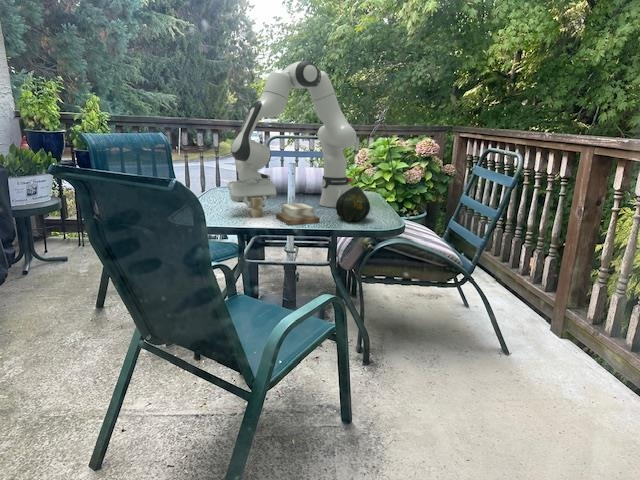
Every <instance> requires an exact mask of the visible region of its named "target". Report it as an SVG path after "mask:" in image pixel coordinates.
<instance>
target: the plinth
mask: <svg viewBox="0 0 640 480" xmlns="http://www.w3.org/2000/svg"><path fill="white" fill-rule="evenodd" d="M314 212H315V211H314V207H313V206H310V205H308V204H306V203H304V202H303V203H287V204H281V212H276V213H275V218H276V220H278V221H280V222H282V223H283V222H284V223H283V224H285V223H286V224H285V225H287V226H294V225H296V226H297V225H308V224H309V225H310V224H319V223H321V222H320V221H321V219H320V217H318V216H316V215H314Z"/></svg>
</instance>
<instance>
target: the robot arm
mask: <svg viewBox="0 0 640 480" xmlns="http://www.w3.org/2000/svg"><path fill="white" fill-rule="evenodd" d="M304 88H306V89H307V91H308V93H309V94H310V98H311V101H312V105H313V107H314V110H315V113H316V115H317V117H318V119H319V120H320V121H321V123H322V124H323V125H322V126H320V127H319V129H318V131H317V139H318V141H319V143H320V146H321V151H322V156H323V157H322V158H323V175H322V180H321V183H322V184H321V187H322V189H321V196H320V200H319V202H318V203H319V204H318V205H320V206H322V207H326V208H335V209H336V203H337V200H338V198H339V197H340V196H341V195H342V194H343V193H345V192H346V191H348V190H349V189H351V188H353V187H354V186H351V184H350V183H353V181H354V179H353V178H352V177H348V176H347V163H348V162H347V158H346V157H345V154H344V150H343V149H348V148H350V147H352V146H353V145H354V144H355V143H356V140H357V132H356V130H355V129H354V128H353V127H352V126H351V125H350V123H349V121H348V120H347V118H346V117H345V115H344V113H343V111H342V110H341V109H342V108H341V107H340V104H339V101H338V98H337V95H336V93H335V89H334V86H333V83H332V82H331V79H330V77H329V76H328V73H327V72H326V71H323V70H320V69H319V67H318V66H317V65H316V63H314V62H313V61H309V60H301V61H296V62H293V63H291V64H287V65H286V66H284V67H283V69H274V70H272V71H271V72H270V73H269V76H268V77H267V80H266V82H265V84H264V87H263V90H262V93H261V95H260V97H259V99H258V100H256V101H254V102H253V103H252V104H251V105H250V107H249V109H248V111H247V113H246V115H245V116H244V119H243V122H242V124H241V126H240V128H239V131H238V132H237V134H236V136H235V137H234V139H233V141H232V142H231V145H230V153H231V155H232V157H233V159H234V165H235V168H236V171H237V173H238V175H237V176H238V180H230V181H229V182H227V184H226V186H227V189H228V190H229V199H230V200H231V201H232V202H234V201H238V202H240V201H239V200H243V201H242V202H243V203H244V204H245V205H246V207H247V209H251V207H252V205H251V202H250V201H247V200H250V198H252V197H260V198H262V208H265V207H266V206H267V205H266V200H270V199H275V198H276V196H277V194H278V193H277V189H276V187H275V184H274V182H273V181H272V180H271V176H270V175H269V174H265V173H262V172H258V171H260V170H261V169H263V168H265V166H267V165H268V164H269V163H270V162H271V160H272V158H271V157H272V152H271V148H270V147H269V146H267V145H265V144H263V143H261V142H258V141H255V140H252V135H253V133H254V130H255V129H256V126H257V124H258V123H259V121H260V120H261V119H263V118H273V117H274V118H275V117H278V116H279V115H281V114H282V113H283V112H284V110H285V108H286V106H287V103H288V99H289V96H290V93H291V90H301V89H304Z"/></svg>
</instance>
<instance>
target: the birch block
mask: <svg viewBox="0 0 640 480" xmlns="http://www.w3.org/2000/svg"><path fill="white" fill-rule="evenodd" d="M249 202H251V205H252V207H251V208H250V217H251V218H252V219H253V218H254V219H257V217H258V218H263V207H262V202H263V201H262V198H260V197H252V198H250V201H249Z"/></svg>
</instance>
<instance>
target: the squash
mask: <svg viewBox="0 0 640 480" xmlns="http://www.w3.org/2000/svg"><path fill="white" fill-rule="evenodd" d="M352 187H353V188H351V189H349V190H348V191H346V192H345V193H343V194H342V195H341V196H340V197H339V198H338V200H337V203H336V208H335V210H336V215H338V217H340V218H342V219H345V221H347V222H349V223H350V222H359V220H364V219H366V218H367V216H368V215H369V213H370V211H371V204H370V201H369V199H368V198H369V197H367V195H366V193H365V192H364V190H362V188H361V187H360V185H358V186H352Z"/></svg>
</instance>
